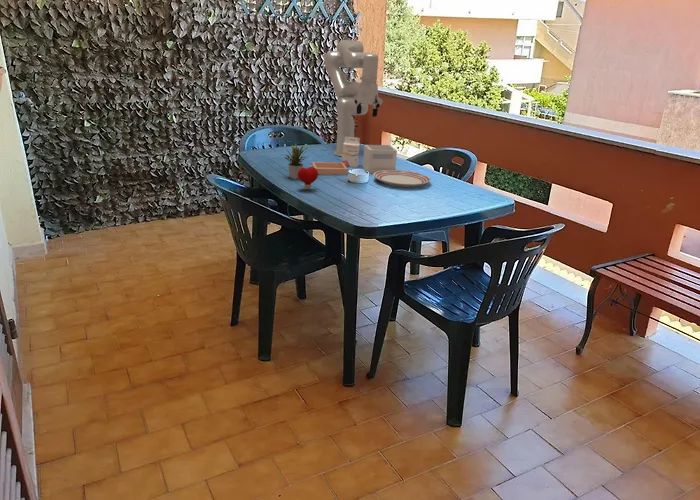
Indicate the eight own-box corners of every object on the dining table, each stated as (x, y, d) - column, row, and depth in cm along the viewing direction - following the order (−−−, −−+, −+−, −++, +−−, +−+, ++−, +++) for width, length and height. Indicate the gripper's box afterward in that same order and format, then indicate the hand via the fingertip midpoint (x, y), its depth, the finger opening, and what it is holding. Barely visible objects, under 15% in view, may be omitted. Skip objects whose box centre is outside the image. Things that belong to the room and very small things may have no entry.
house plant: (318, 178, 254) (320, 144, 248) (297, 183, 245) (297, 147, 238) (298, 172, 263) (299, 139, 257) (276, 176, 253) (277, 142, 247)
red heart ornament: (300, 192, 231) (301, 170, 227) (294, 188, 237) (295, 166, 233) (320, 191, 235) (321, 168, 232) (313, 186, 241) (314, 164, 237)
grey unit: (362, 167, 279) (364, 143, 275) (388, 167, 282) (390, 144, 278) (368, 173, 268) (369, 149, 263) (395, 174, 271) (397, 149, 266)
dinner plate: (385, 172, 274) (386, 165, 273) (437, 181, 264) (437, 174, 262) (363, 184, 251) (363, 177, 250) (418, 194, 241) (419, 187, 239)
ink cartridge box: (341, 166, 279) (342, 138, 274) (342, 164, 284) (343, 136, 278) (357, 167, 279) (359, 139, 273) (358, 165, 283) (360, 137, 278)
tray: (311, 168, 272) (311, 162, 271) (342, 168, 275) (342, 162, 274) (315, 174, 261) (315, 168, 259) (347, 174, 264) (347, 168, 263)
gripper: (350, 78, 269) (348, 113, 276) (379, 82, 260) (376, 118, 267) (359, 78, 275) (357, 112, 281) (387, 81, 266) (384, 116, 272)
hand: (366, 115), depth 274 cm, fingers open, 9 cm apart
